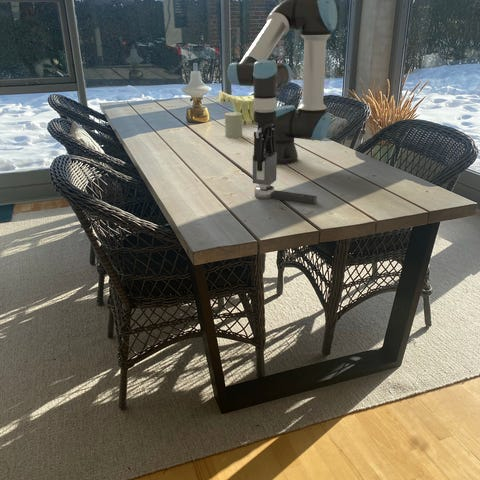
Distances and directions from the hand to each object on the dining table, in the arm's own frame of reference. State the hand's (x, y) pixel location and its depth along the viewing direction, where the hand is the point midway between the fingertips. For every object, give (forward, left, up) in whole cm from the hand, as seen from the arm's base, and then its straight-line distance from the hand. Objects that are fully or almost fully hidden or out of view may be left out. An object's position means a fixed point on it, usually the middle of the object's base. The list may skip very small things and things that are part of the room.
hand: (264, 176), depth 173 cm
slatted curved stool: (-114, -59, -8) cm, 129 cm away
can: (-78, -50, -8) cm, 93 cm away
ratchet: (0, +8, -7) cm, 11 cm away
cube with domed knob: (0, 0, -2) cm, 2 cm away
